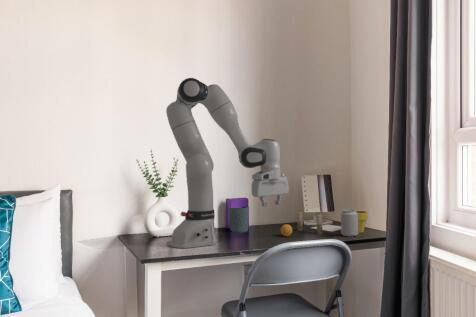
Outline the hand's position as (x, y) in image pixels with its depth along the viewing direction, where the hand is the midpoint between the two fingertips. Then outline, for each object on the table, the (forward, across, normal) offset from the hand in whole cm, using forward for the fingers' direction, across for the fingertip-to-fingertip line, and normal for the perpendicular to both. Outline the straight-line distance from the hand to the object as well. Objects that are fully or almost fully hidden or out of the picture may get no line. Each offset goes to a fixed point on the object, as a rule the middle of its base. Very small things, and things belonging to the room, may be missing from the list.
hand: (271, 205), depth 211 cm
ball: (+12, -10, 0) cm, 16 cm away
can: (+15, -31, +20) cm, 40 cm away
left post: (+15, -26, -6) cm, 30 cm away
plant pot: (+15, -42, +16) cm, 47 cm away
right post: (+15, -26, +6) cm, 30 cm away
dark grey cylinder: (+15, -3, -26) cm, 31 cm away
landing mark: (+15, -40, 0) cm, 43 cm away
